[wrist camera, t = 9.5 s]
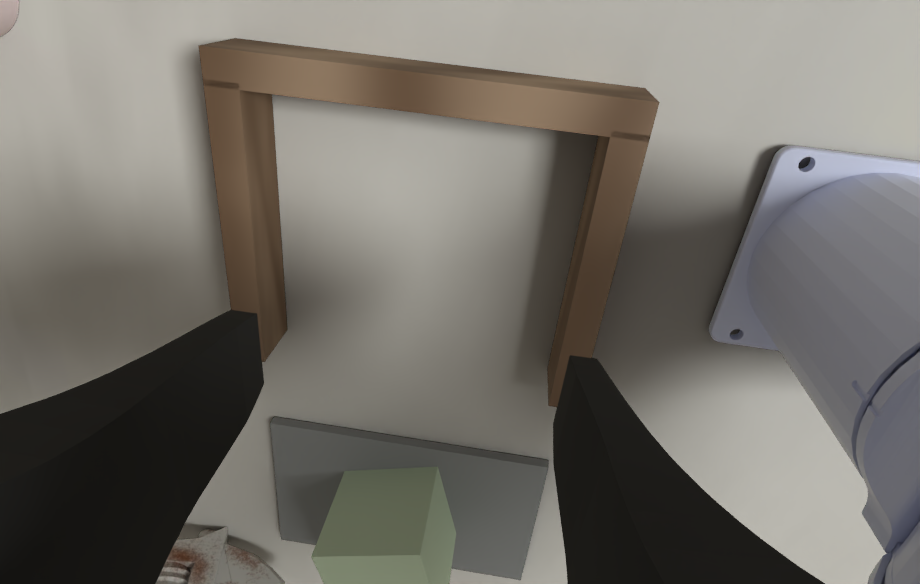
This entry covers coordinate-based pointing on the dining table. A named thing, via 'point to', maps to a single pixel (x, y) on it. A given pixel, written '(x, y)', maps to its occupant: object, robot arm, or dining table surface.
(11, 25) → the smoothie
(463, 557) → the mat
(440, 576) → the cube
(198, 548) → the wrench
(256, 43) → the wooden u-shaped frame
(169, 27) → the dining table surface
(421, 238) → the dining table surface
